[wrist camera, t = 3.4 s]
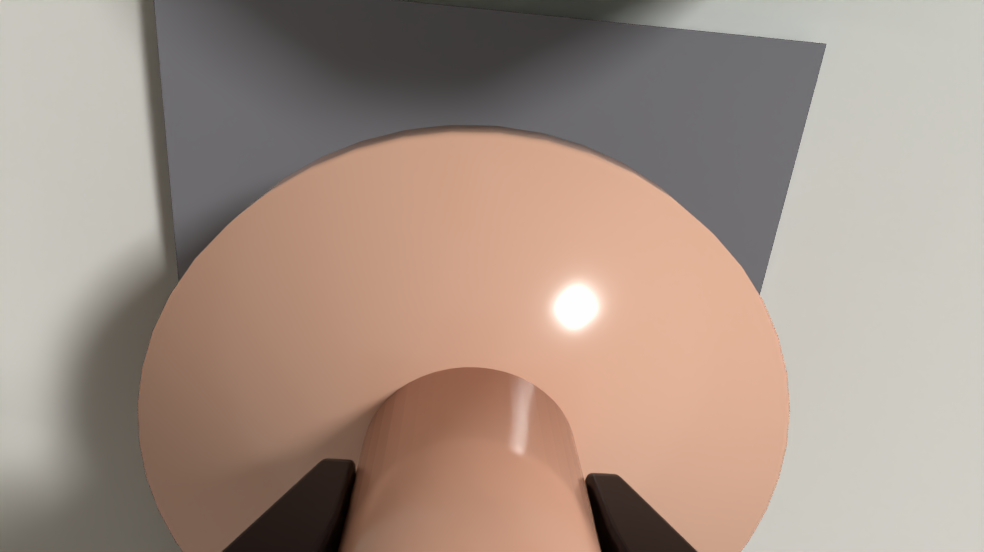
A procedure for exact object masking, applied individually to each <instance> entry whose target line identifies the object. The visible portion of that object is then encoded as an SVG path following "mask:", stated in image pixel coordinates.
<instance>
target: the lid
mask: <svg viewBox="0 0 984 552" xmlns="http://www.w3.org/2000/svg"><path fill="white" fill-rule="evenodd" d="M789 412H790V406H789V393H788V380H787V371H786V367H785V363H784V359H783V355H782V350H781V346H780V342H779V338H778V335H777V333H776V330H775V328H774V326H773V323H772V321H771V318H770V316H769V314H768V311H767V309H766V306H765V304H764V302H763V300H762V298H761V297H760V295H759V294H758V292H757V290H756V289H755V287H754V285H753V284H752V282H751V281H750V279H749V277H748V276H747V274H746V273H745V271H744V269H743V268H742V266H741V265H740V264H739V263H738V262H737V261H736V259H735V258H734V257H733V256H732V255H731V254H730V252H729V251H728V250H727V249H726V248H725V247H724V245H723V244H722V243H721V242H720V241H719V240H718V238H717V237H716V236H715V235H714V234H713V233H712V232H711V231H710V230H709V229H707V228H706V227H705V226H704V225H703V224H702V223H701V222H700V221H699V220H698V219H697V218H696V217H694V216H693V215H692V214H691V213H690V212H689V211H688V210H687V209H686V208H684V207H683V206H682V205H681V204H680V203H679V202H677V201H676V200H675V199H674V198H673V197H672V196H670V195H669V194H668V193H667V192H666V191H665V190H663V189H662V188H661V187H660V186H659V185H657V184H656V183H654V182H652V181H651V180H649V179H648V178H646V177H645V176H643V175H641V174H640V173H638V172H637V171H635V170H634V169H632V168H630V167H629V166H627V165H626V164H624V163H622V162H620V161H618V160H615V159H613V158H611V157H609V156H607V155H604V154H602V153H600V152H598V151H596V150H593V149H591V148H589V147H587V146H585V145H581V144H578V143H575V142H571V141H568V140H565V139H561V138H558V137H555V136H551V135H548V134H545V133H540V132H534V131H528V130H521V129H515V128H509V127H502V126H486V125H445V126H436V127H426V128H417V129H408V130H403V131H399V132H395V133H391V134H387V135H383V136H379V137H375V138H371V139H367V140H363V141H360V142H358V143H355V144H353V145H350V146H348V147H345V148H343V149H340V150H338V151H335V152H333V153H330V154H328V155H325V156H322V157H320V158H319V159H317V160H315V161H313V162H312V163H310V164H308V165H306V166H305V167H303V168H301V169H299V170H298V171H296V172H294V173H292V174H291V175H289V176H287V177H285V178H284V179H282V180H281V181H280V182H278V183H277V184H276V185H275V186H273V187H272V188H271V189H269V190H268V191H267V192H266V193H264V194H263V195H262V196H260V197H259V198H258V199H257V200H255V201H254V202H253V203H251V204H250V205H249V206H248V207H247V208H246V209H245V210H244V211H242V212H241V213H240V214H239V215H238V216H237V217H236V218H235V219H234V220H233V221H232V222H230V223H229V224H228V225H227V226H226V227H225V228H224V229H223V230H222V231H221V232H220V233H219V234H218V235H217V236H216V237H215V238H214V240H213V241H212V242H211V243H210V244H209V245H208V246H207V247H206V248H205V249H204V250H203V251H202V252H201V253H200V254H199V255H198V256H197V257H196V258H195V260H194V261H193V262H192V264H191V265H190V267H189V268H188V270H187V271H186V273H185V274H184V275H183V277H182V278H181V280H180V281H179V283H178V284H177V285H176V287H175V288H174V290H173V291H172V293H171V294H170V296H169V298H168V300H167V303H166V305H165V307H164V309H163V311H162V313H161V315H160V317H159V319H158V321H157V323H156V325H155V328H154V330H153V332H152V336H151V339H150V343H149V346H148V350H147V353H146V356H145V360H144V363H143V367H142V373H141V381H140V390H139V398H138V426H139V444H140V449H141V453H142V458H143V463H144V468H145V473H146V478H147V480H148V483H149V486H150V488H151V491H152V494H153V497H154V499H155V502H156V505H157V507H158V510H159V512H160V514H161V516H162V518H163V519H164V521H165V523H166V525H167V527H168V529H169V530H170V532H171V534H172V536H173V538H174V540H175V541H176V543H177V544H178V546H179V547H180V548H181V550H182V551H183V552H222V551H223V550H224V549H225V548H226V547H227V546H228V545H229V544H230V543H231V542H232V541H234V540H235V539H236V538H237V537H238V536H239V535H240V534H241V533H242V532H243V531H244V530H246V529H247V528H248V527H249V526H250V525H251V524H252V523H253V522H254V521H255V520H256V519H257V518H259V517H260V516H261V515H262V514H263V513H264V512H265V511H266V510H267V509H268V508H269V507H271V506H272V505H273V504H274V503H275V502H276V501H277V500H278V499H279V498H280V497H281V496H283V495H284V494H285V493H286V492H287V491H288V490H289V489H290V488H291V487H292V486H293V485H294V484H296V483H297V482H298V481H299V480H300V479H301V478H302V477H303V476H304V475H305V474H306V473H308V472H309V471H310V470H311V469H312V468H313V467H314V466H315V465H316V464H317V463H318V462H320V461H321V460H323V459H325V458H334V459H350V460H353V461H354V463H355V466H356V475H355V479H354V483H353V487H352V491H351V495H350V500H349V504H348V508H347V512H346V516H345V521H344V525H343V529H342V533H341V537H340V541H339V546H338V550H337V552H602V550H601V545H600V541H599V537H598V533H597V529H596V525H595V521H594V517H593V513H592V509H591V505H590V501H589V497H588V493H587V489H586V485H585V479H586V477H587V475H588V474H590V473H609V474H617V475H619V476H620V477H621V478H623V479H624V480H625V481H626V482H627V483H628V484H629V485H630V486H631V487H632V488H633V489H634V490H635V491H636V492H637V493H638V494H639V495H640V496H641V497H642V498H643V499H644V500H645V501H646V502H647V503H648V504H649V505H650V506H651V507H652V508H653V509H654V510H655V511H657V512H658V513H659V514H660V515H661V516H662V517H663V518H664V519H665V520H666V521H667V522H668V523H669V524H670V525H671V526H672V527H673V528H674V529H675V530H676V531H677V532H678V533H679V534H680V535H681V536H682V537H683V538H684V539H685V540H686V541H687V542H688V543H689V544H690V545H691V546H693V547H694V548H695V549H696V550H697V551H698V552H741V551H742V549H743V548H744V547H745V545H746V544H747V543H748V541H749V540H750V538H751V536H752V535H753V533H754V531H755V529H756V527H757V526H758V524H759V522H760V520H761V519H762V517H763V515H764V513H765V511H766V510H767V507H768V505H769V502H770V499H771V497H772V494H773V492H774V489H775V487H776V484H777V482H778V479H779V476H780V471H781V467H782V463H783V459H784V454H785V450H786V446H787V437H788V424H789Z"/></svg>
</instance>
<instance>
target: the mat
mask: <svg viewBox="0 0 984 552" xmlns="http://www.w3.org/2000/svg"><path fill="white" fill-rule="evenodd" d="M154 7H155V18H156V30H157V41H158V52H159V64H160V75H161V86H162V98H163V109H164V120H165V132H166V143H167V154H168V166H169V177H170V188H171V200H172V211H173V222H174V234H175V245H176V256H177V268H178V279H179V281H180V280H181V278H182V277H183V275H184V274H185V273H186V271H187V270H188V268H189V267H190V265H191V264H192V262H193V261H194V260H195V258H196V257H197V256H198V255H199V254H200V253H201V252H202V251H203V250H204V249H205V248H206V247H207V246H208V245H209V244H210V243H211V242H212V241H213V240H214V238H215V237H216V236H217V235H218V234H219V233H220V232H221V231H222V230H223V229H224V228H225V227H226V226H227V225H228V224H229V223H230V222H232V221H233V220H234V219H235V218H236V217H237V216H238V215H239V214H240V213H241V212H242V211H244V210H245V209H246V208H247V207H248V206H249V205H250V204H251V203H253V202H254V201H255V200H257V199H258V198H259V197H260V196H262V195H263V194H264V193H266V192H267V191H268V190H269V189H271V188H272V187H273V186H275V185H276V184H277V183H278V182H280V181H281V180H282V179H284V178H285V177H287V176H289V175H291V174H292V173H294V172H296V171H298V170H299V169H301V168H303V167H305V166H306V165H308V164H310V163H312V162H313V161H315V160H317V159H319V158H320V157H322V156H325V155H328V154H330V153H333V152H335V151H338V150H340V149H343V148H345V147H348V146H350V145H353V144H355V143H358V142H360V141H363V140H367V139H371V138H375V137H379V136H383V135H387V134H391V133H395V132H399V131H403V130H408V129H417V128H426V127H436V126H445V125H486V126H502V127H509V128H515V129H521V130H528V131H534V132H540V133H545V134H548V135H551V136H555V137H558V138H561V139H565V140H568V141H571V142H575V143H578V144H581V145H585V146H587V147H589V148H591V149H593V150H596V151H598V152H600V153H602V154H604V155H607V156H609V157H611V158H613V159H615V160H618V161H620V162H622V163H624V164H626V165H627V166H629V167H630V168H632V169H634V170H635V171H637V172H638V173H640V174H641V175H643V176H645V177H646V178H648V179H649V180H651V181H652V182H654V183H656V184H657V185H659V186H660V187H661V188H662V189H663V190H665V191H666V192H667V193H668V194H669V195H670V196H672V197H673V198H674V199H675V200H676V201H677V202H679V203H680V204H681V205H682V206H683V207H684V208H686V209H687V210H688V211H689V212H690V213H691V214H692V215H693V216H694V217H696V218H697V219H698V220H699V221H700V222H701V223H702V224H703V225H704V226H705V227H706V228H707V229H709V230H710V231H711V232H712V233H713V234H714V235H715V236H716V237H717V238H718V240H719V241H720V242H721V243H722V244H723V245H724V247H725V248H726V249H727V250H728V251H729V252H730V254H731V255H732V256H733V257H734V258H735V259H736V261H737V262H738V263H739V264H740V265H741V266H742V268H743V269H744V271H745V273H746V274H747V276H748V277H749V279H750V281H751V282H752V284H753V285H754V287H755V289H756V290H757V292H758V294H759V295H760V292H761V288H762V284H763V280H764V277H765V273H766V269H767V265H768V262H769V258H770V254H771V250H772V247H773V243H774V239H775V235H776V232H777V228H778V224H779V220H780V217H781V213H782V209H783V205H784V202H785V198H786V194H787V190H788V187H789V183H790V179H791V175H792V172H793V168H794V164H795V160H796V157H797V153H798V149H799V145H800V142H801V138H802V134H803V130H804V127H805V123H806V119H807V115H808V112H809V108H810V104H811V100H812V97H813V93H814V89H815V85H816V82H817V78H818V74H819V70H820V66H821V63H822V59H823V55H824V51H825V48H826V44H823V43H813V42H804V41H794V40H784V39H774V38H764V37H754V36H744V35H735V34H725V33H715V32H705V31H695V30H685V29H676V28H666V27H656V26H646V25H636V24H626V23H616V22H607V21H597V20H587V19H577V18H567V17H557V16H547V15H538V14H528V13H518V12H508V11H498V10H488V9H478V8H469V7H459V6H449V5H439V4H429V3H419V2H409V1H400V0H154Z"/></svg>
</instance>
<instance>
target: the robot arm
mask: <svg viewBox="0 0 984 552" xmlns="http://www.w3.org/2000/svg"><path fill="white" fill-rule="evenodd" d="M355 475H356V466H355V463H354V461H353V460H350V459H334V458H325V459H323V460H321V461H320V462H318V463H317V464H316V465H315V466H314V467H313V468H312V469H311V470H310V471H309V472H308V473H306V474H305V475H304V476H303V477H302V478H301V479H300V480H299V481H298V482H297V483H296V484H294V485H293V486H292V487H291V488H290V489H289V490H288V491H287V492H286V493H285V494H284V495H283V496H281V497H280V498H279V499H278V500H277V501H276V502H275V503H274V504H273V505H272V506H271V507H269V508H268V509H267V510H266V511H265V512H264V513H263V514H262V515H261V516H260V517H259V518H257V519H256V520H255V521H254V522H253V523H252V524H251V525H250V526H249V527H248V528H247V529H246V530H244V531H243V532H242V533H241V534H240V535H239V536H238V537H237V538H236V539H235V540H234V541H232V542H231V543H230V544H229V545H228V546H227V547H226V548H225V549H224V550H223V551H222V552H337V550H338V546H339V541H340V537H341V533H342V529H343V525H344V521H345V516H346V512H347V508H348V504H349V500H350V495H351V491H352V487H353V483H354V479H355ZM585 485H586V489H587V493H588V497H589V501H590V505H591V509H592V513H593V517H594V521H595V525H596V529H597V533H598V537H599V541H600V545H601V550H602V552H698V551H697V550H696V549H695V548H694V547H693V546H691V545H690V544H689V543H688V542H687V541H686V540H685V539H684V538H683V537H682V536H681V535H680V534H679V533H678V532H677V531H676V530H675V529H674V528H673V527H672V526H671V525H670V524H669V523H668V522H667V521H666V520H665V519H664V518H663V517H662V516H661V515H660V514H659V513H658V512H657V511H655V510H654V509H653V508H652V507H651V506H650V505H649V504H648V503H647V502H646V501H645V500H644V499H643V498H642V497H641V496H640V495H639V494H638V493H637V492H636V491H635V490H634V489H633V488H632V487H631V486H630V485H629V484H628V483H627V482H626V481H625V480H624V479H623V478H621V477H620V476H619V475H617V474H609V473H590V474H588V475H587V477H586V479H585Z"/></svg>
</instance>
